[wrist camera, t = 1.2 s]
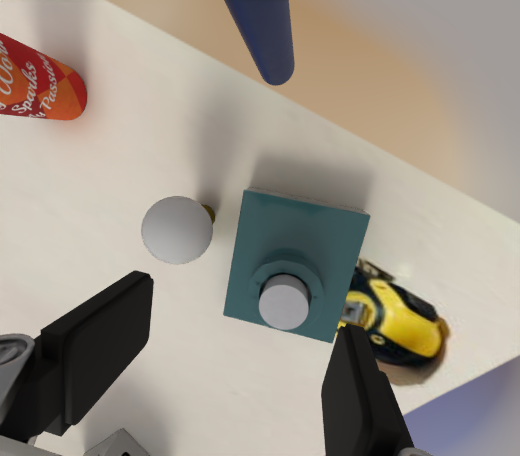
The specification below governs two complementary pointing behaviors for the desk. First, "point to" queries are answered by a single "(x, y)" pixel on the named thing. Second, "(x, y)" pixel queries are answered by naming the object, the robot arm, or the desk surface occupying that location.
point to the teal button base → (295, 256)
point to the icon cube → (118, 446)
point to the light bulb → (177, 229)
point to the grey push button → (284, 302)
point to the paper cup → (37, 84)
